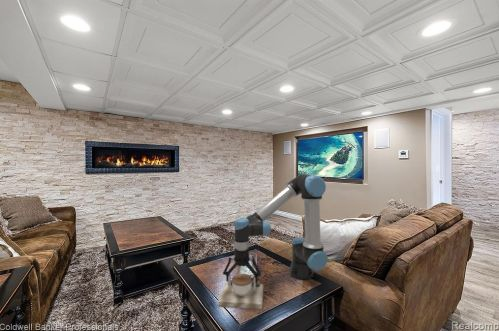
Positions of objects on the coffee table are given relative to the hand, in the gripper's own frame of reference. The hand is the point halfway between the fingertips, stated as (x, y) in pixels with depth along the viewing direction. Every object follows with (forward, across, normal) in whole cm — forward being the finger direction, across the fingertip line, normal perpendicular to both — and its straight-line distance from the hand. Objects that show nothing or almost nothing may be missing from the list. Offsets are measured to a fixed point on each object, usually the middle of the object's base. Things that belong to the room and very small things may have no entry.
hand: (242, 287), depth 120 cm
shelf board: (+5, 0, 0) cm, 5 cm away
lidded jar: (+3, 0, 0) cm, 3 cm away
